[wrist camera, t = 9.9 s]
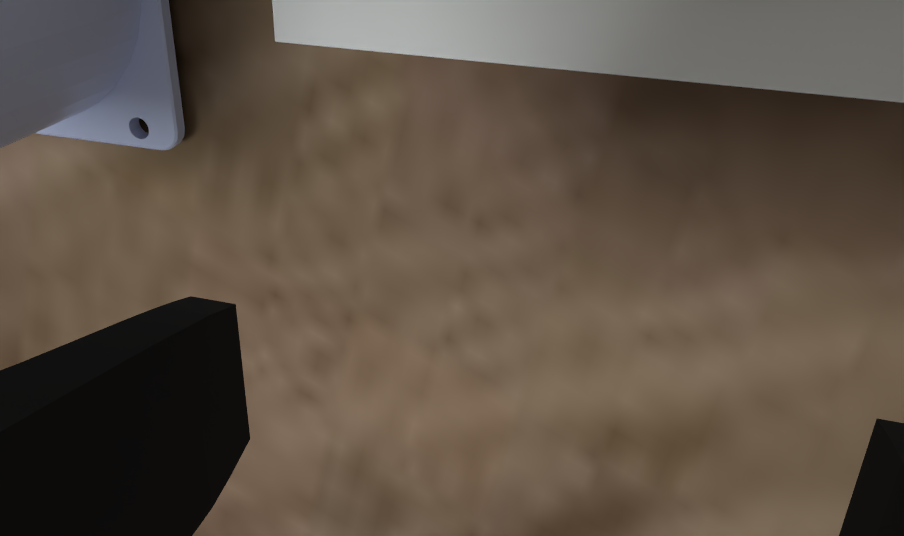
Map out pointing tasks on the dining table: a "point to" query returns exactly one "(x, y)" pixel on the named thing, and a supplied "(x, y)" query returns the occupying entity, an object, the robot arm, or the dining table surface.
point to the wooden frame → (633, 38)
